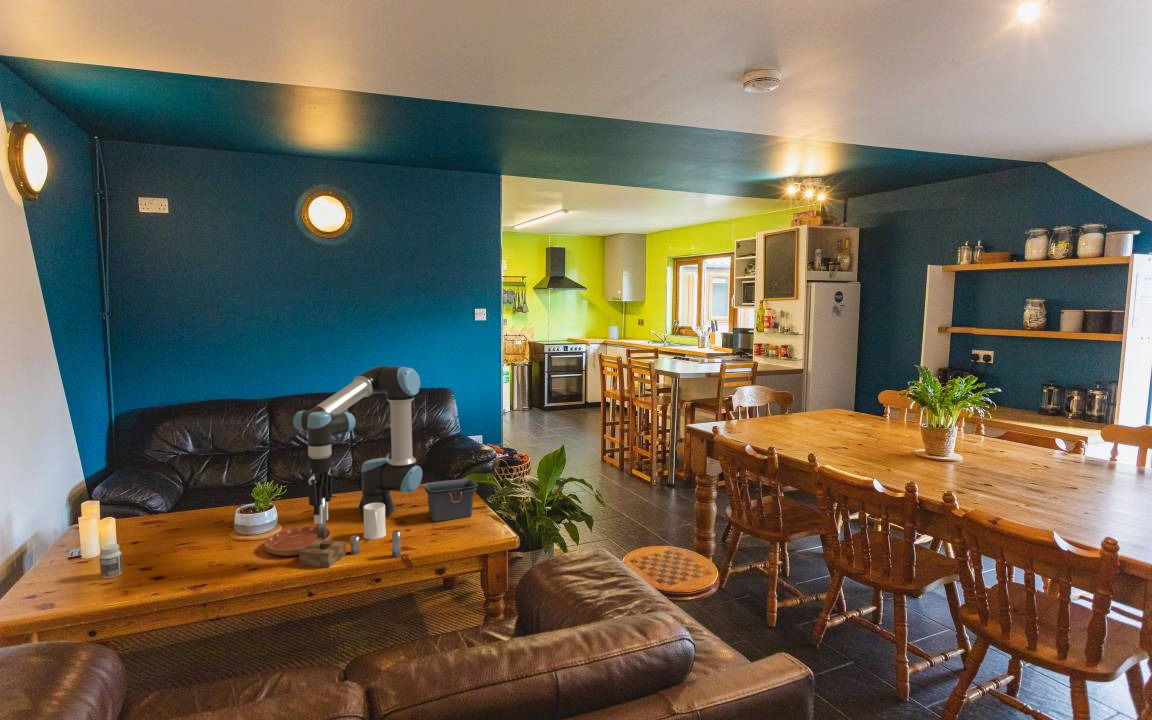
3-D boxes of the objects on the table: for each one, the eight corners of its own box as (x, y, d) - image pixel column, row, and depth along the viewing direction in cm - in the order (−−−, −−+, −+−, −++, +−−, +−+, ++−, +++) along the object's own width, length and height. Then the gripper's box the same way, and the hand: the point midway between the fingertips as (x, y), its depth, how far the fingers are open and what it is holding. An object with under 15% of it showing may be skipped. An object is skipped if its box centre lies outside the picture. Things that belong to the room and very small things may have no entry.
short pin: (353, 550, 221) (353, 534, 220) (361, 551, 221) (360, 535, 220) (349, 553, 218) (348, 538, 217) (357, 554, 218) (356, 538, 217)
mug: (386, 541, 230) (385, 511, 229) (362, 543, 227) (362, 513, 226) (386, 530, 241) (385, 501, 240) (363, 532, 238) (363, 503, 237)
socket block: (317, 552, 219) (317, 539, 218) (345, 554, 217) (345, 541, 217) (299, 565, 208) (299, 551, 208) (328, 567, 206) (328, 554, 206)
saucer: (254, 561, 212) (254, 551, 211) (276, 536, 234) (276, 527, 234) (322, 557, 215) (322, 547, 215) (337, 533, 238) (337, 524, 237)
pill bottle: (108, 571, 201) (107, 543, 201) (126, 571, 202) (125, 543, 201) (96, 579, 196) (94, 550, 195) (115, 579, 196) (113, 550, 195)
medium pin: (394, 553, 219) (394, 529, 218) (402, 554, 218) (402, 530, 217) (390, 556, 216) (390, 532, 215) (398, 557, 215) (398, 533, 214)
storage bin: (470, 508, 268) (469, 477, 267) (481, 519, 255) (481, 486, 253) (422, 515, 258) (422, 483, 257) (431, 527, 245) (431, 493, 243)
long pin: (320, 534, 213) (319, 496, 212) (327, 535, 213) (327, 496, 212) (315, 537, 210) (314, 498, 209) (323, 538, 210) (322, 499, 209)
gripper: (322, 450, 217) (324, 513, 219) (296, 461, 202) (297, 528, 204) (342, 451, 216) (343, 514, 218) (316, 462, 201) (318, 530, 203)
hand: (321, 521), depth 211 cm, fingers closed on long pin, 3 cm apart
